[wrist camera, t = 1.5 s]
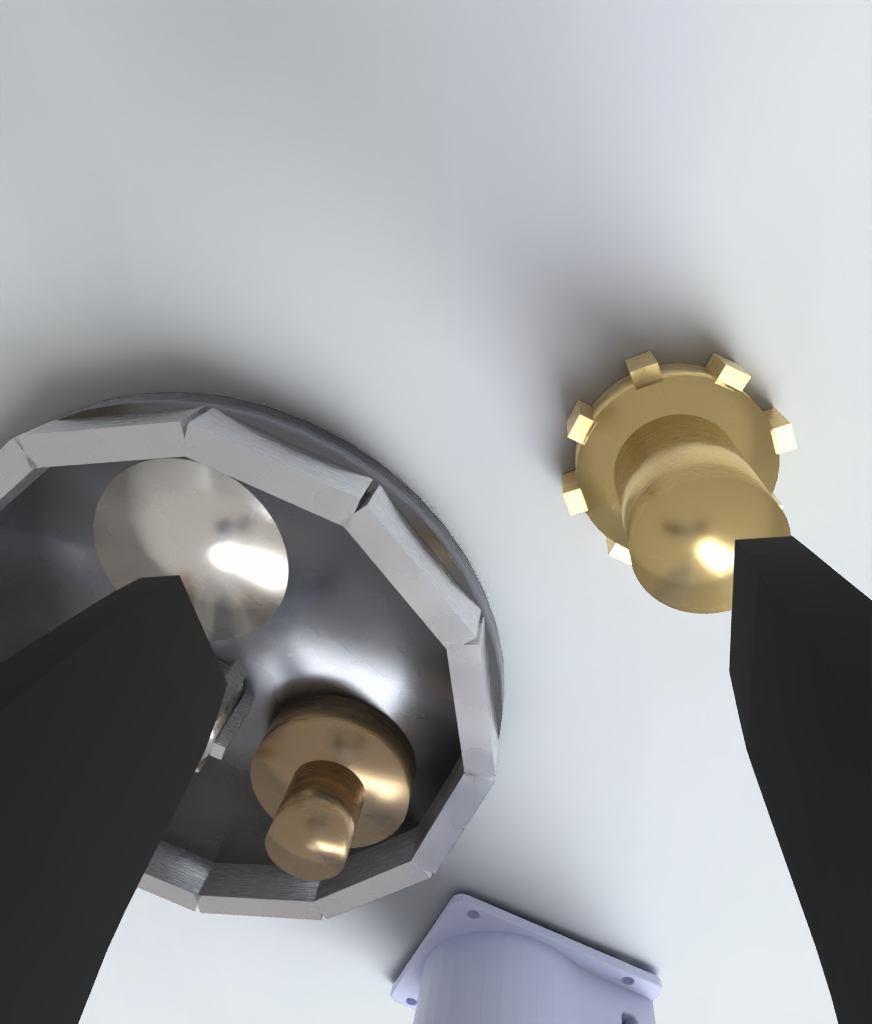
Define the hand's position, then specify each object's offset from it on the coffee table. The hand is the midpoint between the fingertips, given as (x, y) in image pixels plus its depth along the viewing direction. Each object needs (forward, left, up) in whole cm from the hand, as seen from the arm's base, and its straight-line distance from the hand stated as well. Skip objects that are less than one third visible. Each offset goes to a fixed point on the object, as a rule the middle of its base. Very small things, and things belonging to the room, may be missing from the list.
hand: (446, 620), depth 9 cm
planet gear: (-5, 0, -12) cm, 13 cm away
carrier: (+5, +14, -12) cm, 19 cm away
